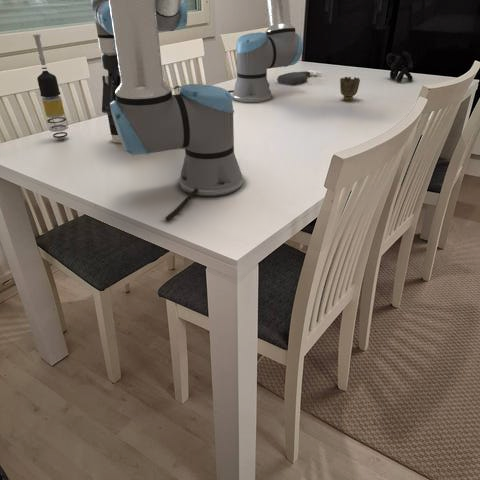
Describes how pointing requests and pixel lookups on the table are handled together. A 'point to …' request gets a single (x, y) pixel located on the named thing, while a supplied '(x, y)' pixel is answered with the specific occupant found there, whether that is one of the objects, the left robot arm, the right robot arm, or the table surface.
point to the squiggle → (399, 66)
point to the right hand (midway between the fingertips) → (351, 23)
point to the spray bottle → (295, 77)
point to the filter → (50, 95)
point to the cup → (349, 87)
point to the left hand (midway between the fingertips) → (126, 127)
